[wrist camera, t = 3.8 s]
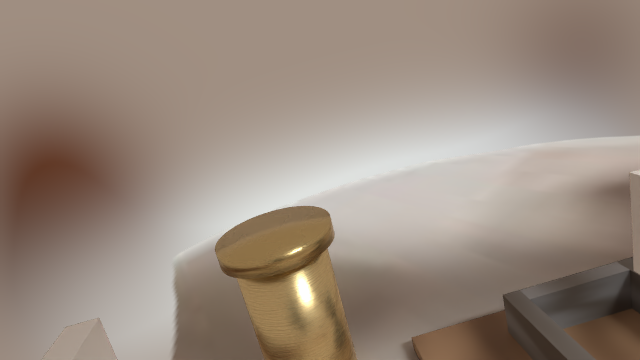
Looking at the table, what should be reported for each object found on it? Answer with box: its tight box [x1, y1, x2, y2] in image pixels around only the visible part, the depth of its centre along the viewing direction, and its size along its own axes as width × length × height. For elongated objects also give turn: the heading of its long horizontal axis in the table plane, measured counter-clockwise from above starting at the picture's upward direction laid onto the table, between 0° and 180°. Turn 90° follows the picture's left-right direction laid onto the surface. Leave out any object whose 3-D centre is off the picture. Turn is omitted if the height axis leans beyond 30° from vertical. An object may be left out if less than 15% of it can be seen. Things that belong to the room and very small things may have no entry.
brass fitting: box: [215, 206, 357, 360], centre depth 26 cm, size 6×6×14 cm
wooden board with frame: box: [412, 257, 640, 360], centre depth 26 cm, size 22×14×4 cm, turn 97°
